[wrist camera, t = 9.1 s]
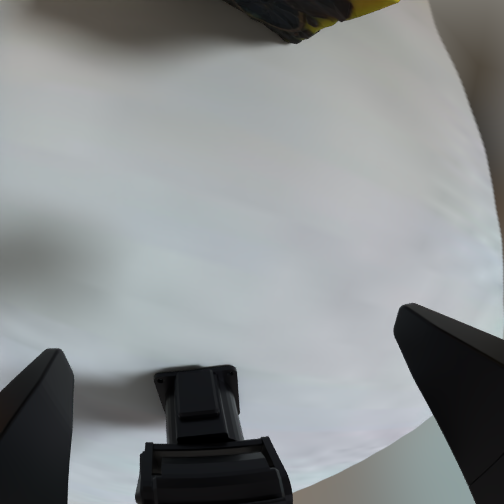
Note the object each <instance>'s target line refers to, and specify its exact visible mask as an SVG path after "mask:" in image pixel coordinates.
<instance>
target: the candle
mask: <svg viewBox="0 0 504 504" xmlns="http://www.w3.org/2000/svg"><path fill="white" fill-rule="evenodd" d="M223 1H225V2H227V3H229V4H230V5H232V6H234V7H236V8H238V9H239V10H241V11H243V12H245V13H246V14H247V15H248V16H249V17H250V18H251V19H253V20H257V21H259V22H262V23H263V24H264V25H266V26H267V27H268V28H269V29H271V30H272V31H274V32H275V33H277V34H278V35H279V36H280V37H281V38H282V39H283V40H284V41H287V42H290V43H294V44H298V43H300V42H301V41H302V40H304V39H309V38H310V37H311V36H313V35H314V34H316V33H317V32H319V31H320V30H321V29H323V28H325V27H329V26H332V25H334V24H335V23H336V22H337V21H340V22H343V21H346V20H350V19H354V18H357V17H360V16H363V15H366V14H369V13H371V12H374V11H377V10H380V9H382V8H385V7H388V6H390V5H393V4H395V3H398V2H399V1H400V0H223Z"/></svg>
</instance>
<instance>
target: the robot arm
mask: <svg viewBox="0 0 504 504" xmlns="http://www.w3.org/2000/svg"><path fill="white" fill-rule="evenodd" d="M393 331H394V336H395V339H396V341H397V343H398V345H399V348H400V350H401V352H402V354H403V356H404V359H405V361H406V363H407V365H408V368H409V370H410V372H411V374H412V377H413V379H414V380H415V382H416V384H417V386H418V388H419V390H420V391H421V393H422V395H423V397H424V399H425V401H426V402H427V404H428V406H429V408H430V410H431V412H432V414H433V415H434V417H435V419H436V421H437V423H438V425H439V427H440V429H441V431H442V433H443V434H444V437H445V439H446V441H447V442H448V445H449V447H450V449H451V450H452V453H453V455H454V457H455V459H456V461H457V463H458V465H459V467H460V469H461V471H462V473H463V476H464V478H465V480H466V482H467V484H468V486H469V489H470V491H471V494H472V496H473V498H474V501H475V503H476V504H504V340H503V339H501V338H498V337H496V336H493V335H491V334H489V333H486V332H484V331H481V330H479V329H477V328H474V327H472V326H469V325H467V324H464V323H462V322H460V321H457V320H455V319H452V318H450V317H447V316H445V315H443V314H440V313H438V312H435V311H433V310H430V309H428V308H425V307H423V306H420V305H418V304H416V303H409V304H405V305H402V306H401V307H400V308H399V311H398V315H397V318H396V322H395V325H394V330H393ZM160 379H161V380H160ZM154 382H155V385H156V388H157V391H158V394H159V397H160V400H161V403H162V406H163V408H164V411H165V414H166V434H167V444H153V442H146V443H145V451H143V453H142V454H140V474H139V479H138V484H137V489H136V493H135V500H136V503H138V504H293V495H292V488H291V484H290V480H289V477H288V475H287V472H286V470H285V468H284V466H283V464H282V463H281V461H280V459H279V457H278V455H277V453H276V451H275V449H274V447H273V445H272V443H271V440H270V438H269V437H268V436H266V437H261V438H259V439H250V440H244V437H243V433H242V429H241V425H240V420H239V416H238V415H239V414H240V408H239V394H238V380H237V371H236V368H235V367H234V366H225V367H217V368H208V369H199V370H190V371H179V372H168V373H158V374H156V375H155V376H154ZM73 391H74V375H73V371H72V369H71V367H70V365H69V363H68V361H67V359H66V357H65V355H64V353H63V351H62V350H61V349H59V348H50V349H46V350H45V351H43V352H42V353H41V354H40V355H39V356H38V357H37V358H36V359H35V360H34V361H32V362H31V363H30V364H29V365H28V366H27V367H26V368H25V369H24V370H23V371H22V372H21V373H20V374H18V375H17V376H16V377H15V378H14V379H13V380H12V381H11V382H10V383H9V384H8V385H7V386H6V387H5V388H4V389H3V390H2V391H1V392H0V504H67V501H68V476H69V461H70V450H71V440H72V425H73Z"/></svg>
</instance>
